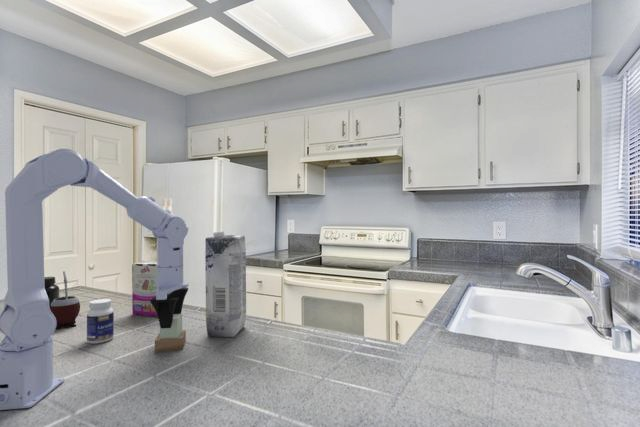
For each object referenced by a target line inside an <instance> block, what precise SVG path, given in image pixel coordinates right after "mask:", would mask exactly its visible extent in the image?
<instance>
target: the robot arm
mask: <svg viewBox="0 0 640 427" xmlns="http://www.w3.org/2000/svg"><path fill="white" fill-rule="evenodd" d="M69 185H70V186H71V187H72V186H73V187H81V188H82V187H83V188H91V189H92V190H94V191H96V192H98V193H100V194H101V195H103V196H104V197H107V198H108V199H109V200H111V201H112V202H115V203H116V204H118V205H120V206H122V207H123V208H124V209H126V213H127V216H128V218H130V219H131V220H133V221H135V222H136V223H138V224H139V225H141V226H143V227H144V228H145V229H147V230H149V231H151V233H152V235H153V237H154V238H156V242H157V243H156V245H157V247H156V250H157V251H156V253H157V255H156V257H157V260H156V262H157V274H158V285H157V291H156V297H153V298H152V299H151V304H152V305H153V307H154V308H155V311H156V313H157V316H158V317H157V320H158V323H160V327H161V329H162V328H171V326H172V321H173V314H182V309H183V305H184V302H185V298H186V295H187V293H188V291H189V283H188V282H184V245H185V244H184V243H185V241H184V240H185V238H186V236H187V235H188V231H189V227H187V224H186V223H185V220H184V219H183V218H181V217H179V216H172V211H170V210H169V209H164V208H163V207H162V206H160V205H159V204H157V203H156V199H155V198H153V197H152V196H148V197H147V196H146V195H141V196H137V195H136V194H134V193H133V192H131V191H130V190H129V189H127V187H125V186H124V185H122V184H121V183H119V182H118V181H117V180H116V179H114V177H112V176H110V175H109V174H107V173H106V172H105V171H103V170H102V169H101V168H100V167H99V166H98V165H97V164H96V163H95V162H94V161H92V160H90V159H88V158H86V157H85V158H84V157H83V156H82V155H81V154H80V153H79V152H77V151H76V150H74V149H70V148H59V149H55V150H53V151H51V152H48V153H45V154H42V155H38V156H37V157H35V158H33V159H31V160H29V161H27V162H26V163H25V164H24V167H23V168H22V169H21V170H20V171H19V172H18V173H17V175H16V176H15V177H14V178H13V179H12V180H11V182H10V183H9V184H8V185H7V187H6V188H5V192H4V195H5V196H4V197H5V199H4V201H5V202H4V203H5V204H4V205H5V206H4V207H5V231H6V232H5V235H6V236H5V237H6V240H5V241H6V269H7V270H6V271H7V272H6V273H7V291H6V294H5V296H4V298H3V299H4V300H3V302H4V306H3V309H2V311H1V313H0V332H1V333H2V334H4V335H5V336H4V337H3V339H2V340H1V342H0V411H7V410H18V409H28V408H29V409H30V408H31V407H33V406H34V405H36V404H37V403H38V402H39V401H41V400H42V399H43V398H45V397H46V396H47V395H48V394H49V393H50V392H53V390H55V389H56V388H57V387H58V386H60V385H61V384H62V383H64V382H65V378H64V377H60V378H59V377H58V378H56V377H55V378H54V346H53V345H54V340H53V338H54V336H53V335H54V333H55V331H56V330H55V329H56V325H57V323H56V318H55V316H54V315H53V313H52V312H51V310H50V307H49V299H48V296H47V293H46V290H45V283H44V277H45V253H44V252H45V251H44V250H45V249H44V218H43V216H44V215H43V213H44V211H43V202H44V200H45V199H46V198H48V197H50V196H51V195H52V194H54V193H55V192H56V191H58V190H60V189H61V188H63V187H67V186H69ZM160 327H159V328H160Z"/></svg>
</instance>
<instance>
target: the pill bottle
mask: <svg viewBox="0 0 640 427" xmlns="http://www.w3.org/2000/svg"><path fill="white" fill-rule="evenodd" d="M111 305H112V299H110V298H103V299H102V298H101V299H100V298H99V299H95V300H91V301H89V303H88V307H89V309H90V310H89V311H88V312H87V314H86V341H87V343H88V344H92V345H93V344H95V345H97V344H103V343H106V342H108V341H112V339H113V338H114V328H115V326H114V322H115V321H114V319H115V318H114V315H115V314H114V309H113V308H112V307H111Z"/></svg>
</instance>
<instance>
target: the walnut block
mask: <svg viewBox="0 0 640 427" xmlns="http://www.w3.org/2000/svg"><path fill="white" fill-rule="evenodd" d="M186 338H187V330H186V329H182V333H181V334H180V335H179V337H178V338H165V339H160V332H159V333H158V334H157V336H156V338H155V339H154V353H161V352H171V351H172V352H173V351H182V350H184V348H185V344H186V342H187V339H186Z"/></svg>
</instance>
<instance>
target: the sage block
mask: <svg viewBox="0 0 640 427" xmlns="http://www.w3.org/2000/svg"><path fill="white" fill-rule="evenodd" d="M158 323H159V322H158ZM182 330H183V313H181V314H173V321H172V326H171V328H162V329H161V327H160V323H159V333H160V339H165V338H178V337H179V335H180V334H181V333H182Z"/></svg>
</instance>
